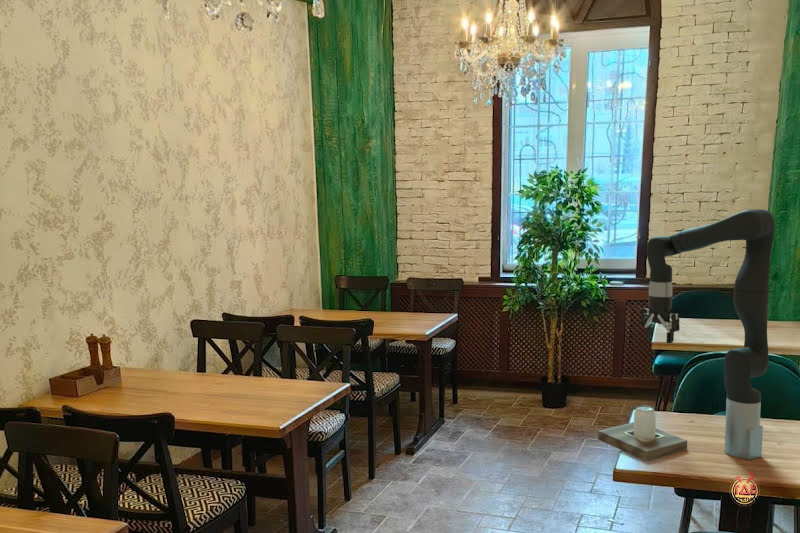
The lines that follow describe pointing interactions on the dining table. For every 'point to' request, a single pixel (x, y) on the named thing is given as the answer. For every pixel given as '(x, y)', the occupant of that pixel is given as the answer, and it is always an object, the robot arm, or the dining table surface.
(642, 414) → the can
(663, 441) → the socket board
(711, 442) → the dining table surface
